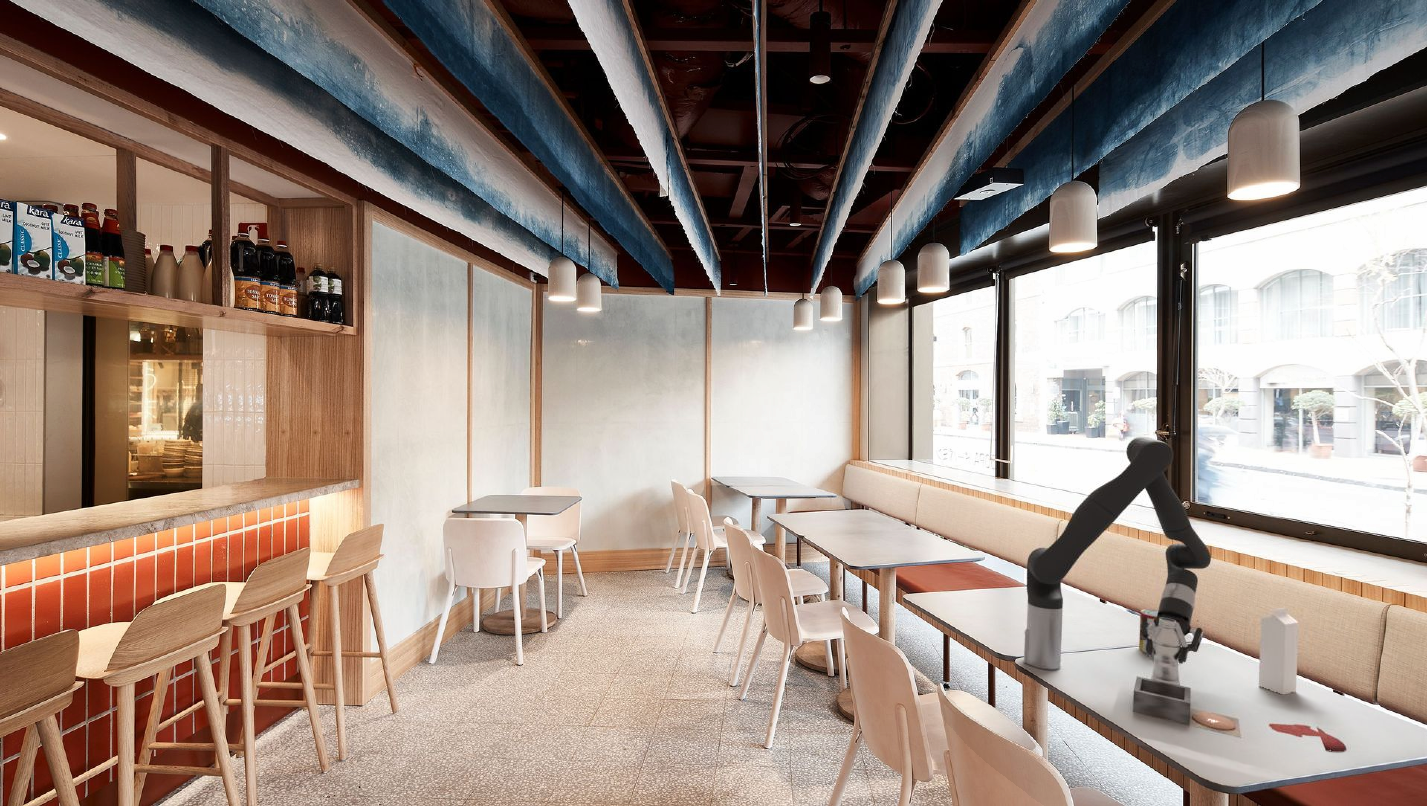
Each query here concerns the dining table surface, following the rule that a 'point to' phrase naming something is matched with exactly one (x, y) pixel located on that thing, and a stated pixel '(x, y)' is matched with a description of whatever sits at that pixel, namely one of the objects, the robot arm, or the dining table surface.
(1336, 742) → the red flat piece
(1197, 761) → the dining table surface
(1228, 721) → the terracotta coaster
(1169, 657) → the plastic bottle
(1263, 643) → the milk
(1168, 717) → the wooden organizer tray
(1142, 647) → the canned food
